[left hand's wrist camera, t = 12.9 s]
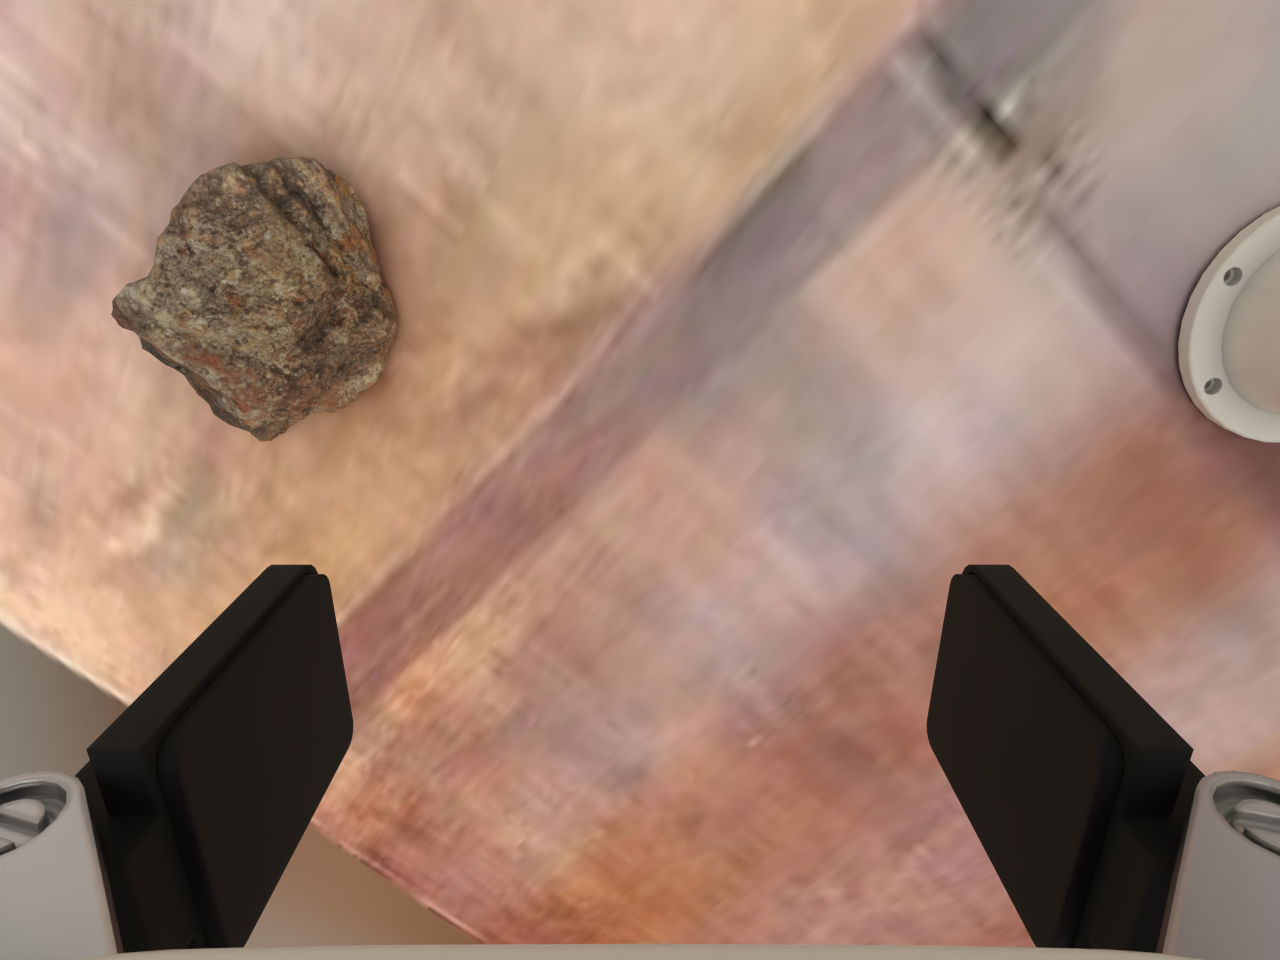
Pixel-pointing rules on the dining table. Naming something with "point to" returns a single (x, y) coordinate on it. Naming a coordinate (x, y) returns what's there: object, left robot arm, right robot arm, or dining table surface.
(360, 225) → the rock
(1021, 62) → the dining table surface
